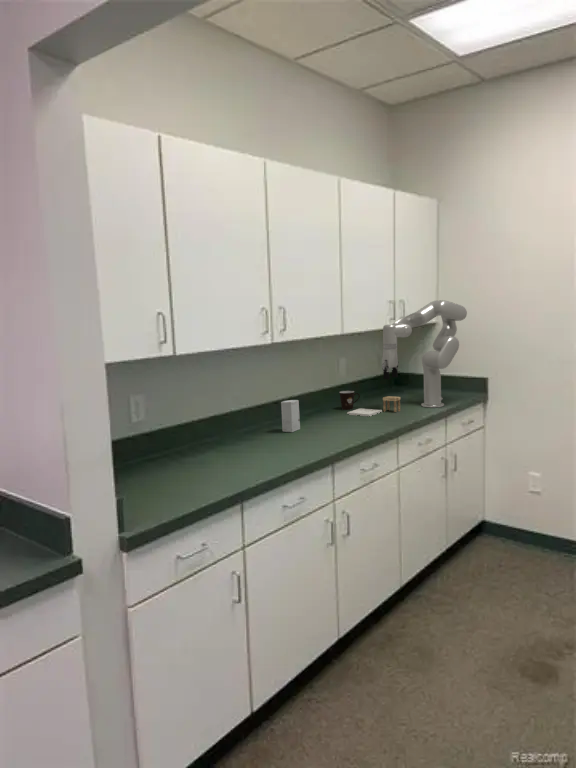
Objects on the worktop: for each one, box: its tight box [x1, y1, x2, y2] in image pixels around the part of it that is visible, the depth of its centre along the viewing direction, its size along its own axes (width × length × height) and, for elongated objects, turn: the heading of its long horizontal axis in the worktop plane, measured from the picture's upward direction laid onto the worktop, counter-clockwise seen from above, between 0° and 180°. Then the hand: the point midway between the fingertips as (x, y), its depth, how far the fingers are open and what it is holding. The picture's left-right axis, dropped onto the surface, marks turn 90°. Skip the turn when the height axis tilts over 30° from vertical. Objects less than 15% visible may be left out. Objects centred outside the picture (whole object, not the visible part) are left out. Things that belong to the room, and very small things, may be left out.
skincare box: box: [280, 399, 301, 433], centre depth 288 cm, size 8×6×15 cm
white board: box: [346, 408, 383, 417], centre depth 325 cm, size 14×14×1 cm
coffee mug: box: [339, 390, 361, 411], centre depth 340 cm, size 12×9×10 cm
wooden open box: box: [382, 396, 401, 413], centre depth 326 cm, size 6×8×8 cm
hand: (390, 378), depth 324 cm, fingers open, 9 cm apart
